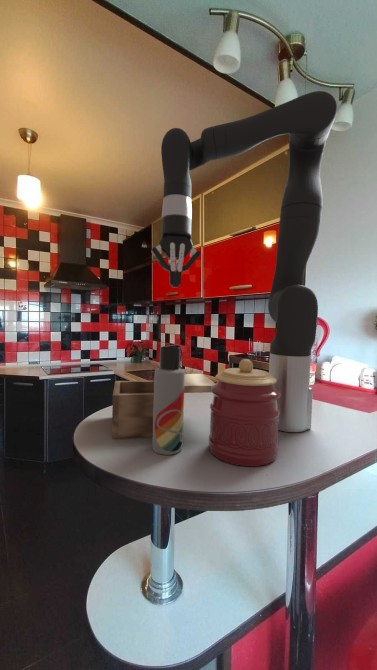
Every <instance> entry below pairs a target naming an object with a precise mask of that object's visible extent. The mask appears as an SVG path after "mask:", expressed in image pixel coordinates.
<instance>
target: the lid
mask: <svg viewBox="0 0 377 670" xmlns="http://www.w3.org/2000/svg"><path fill="white" fill-rule="evenodd" d="M158 368H160V362H156V369H158ZM215 384H216V383H215V382H214V381H213V380H211V379H210V378H208V377H207V376H206V375H205V374H203V373H185V381H184V394H192V393H194V394H195V393H197V394H198V393H200V394H202V393H206V394H207V393H212V392H211V387H212V386H213V385H215Z"/></svg>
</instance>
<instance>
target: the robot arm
mask: <svg viewBox="0 0 377 670" xmlns="http://www.w3.org/2000/svg"><path fill="white" fill-rule="evenodd" d="M337 113H338V104H337V101H336V98H335V97H334V96H333V95H332V94H331V93H329V92H327V91H324V90H322V91H321V90H316V91H311V92H309V93H308V92H307V93H306V94H302V95H299V96H297V97H295V98H293V99H291V100H288V101H286V102H284V103H281V104H278V105H276V106H274V107H272V108H269V109H267V110H264V111H261V112H259V113H256V114H253V115H252V116H248V117H244V118H243V119H239V120H234V121H230V122H225V123H222V124H215V125H214V126H208V127H206V128H204V129H202V132H201V133H200V138H198V139H195V140H193V141H191V139H190V137H189V135H188V134H187V132H186V131H184V129H182V128H178V127H173V128H171V129H169V130H168V131H167V132H166V133H165V134H164V136H163V138H162V140H161V147H160V148H161V150H160V151H161V153H160V154H161V155H160V156H161V162H162V163H161V164H162V172H163V173H162V175H163V199H162V200H163V201H162V210H161V238H160V240H159V243H158V245H157V246H154V247H152V249H151V254H152V256H153V257H154V258H155V260H156V261H157V263H158V264H159V266H160V267H161V268H162V269H163V271H164V270H165V271H167V272H168V273H169V274H168V275H169V276H168V277H169V278H168V279H169V281H168V282H169V283H168V284H169V286H171V288H176V289H177V288H179V286H181V284H182V273H183V272H187V271H188V270H189V269H190V268H191V266H192V265H193V264H194V263H195V262H196V260H197V259H198V258H199V257H200V256H201V251H200V250H197V249H196V248H195V247H194V244H193V242H192V241H193V240H192V229H193V228H192V225H193V224H192V221H193V219H192V218H193V207H192V190H193V189H192V179H191V176H190V172H191V171H193V170H195V169H197V168H199V167H201V166H204V165H206V164H207V163H209V162H212V161H216V160H223V159H228V158H231V157H236V156H239V155H241V154H243V153H245V152H248V151H250V150H251V149H253V148H255V147H256V146H258V145H260V144H262V143H264V142H265V141H268V140H271V139H273V138H275V137H278V136H283V135H288V153H289V154H288V173H287V178H286V183H285V186H284V190H283V195H282V201H281V205H280V212H279V213H280V215H279V222H278V223H279V224H278V236H277V237H278V238H277V248H276V258H275V259H276V261H275V268H274V269H275V270H274V276H273V279H272V283H271V289H270V293H269V298H268V303H267V310H268V314H269V316H270V319H272V320H273V322H275V323H276V328H275V329H276V330H275V336H274V338H273V339H272V340H271V342H270V346H269V361H268V362H269V367H268V373H269V374H270V375H271V376H272V377H274V378H275V379H276V380H277V382H276V383H275V384H274V386H275V388H276V389H278V390H279V391H280V392H281V396H280V397H279V398H278V408H279V410H280V414H279V425H278V431H282V432H289V433H301V432H305V431H306V430H311V429H312V414H313V397H314V395H313V394H314V389H313V388H312V387H310V381H311V380H310V379H311V377H310V376H311V358H312V357H311V356H312V348H313V347H314V344H315V341H316V336H317V326H318V314H319V305H318V299H317V296H316V294H315V293H314V291H313V290H312V289H311V288H310V287H308V286H306V285H304V276H305V270H306V267H307V263H308V261H309V259H310V257H311V254H312V251H313V250H314V247H315V245H316V241H317V239H318V236H319V234H320V229H321V224H322V214H323V205H324V203H323V202H324V201H323V199H324V197H323V190H322V189H323V188H322V182H321V167H322V166H321V165H322V161H323V155H324V149H325V147H326V142H327V140H328V137H329V135H330V132H331V129H332V127H333V124H334V122H335V120H336V117H337ZM162 252H163V253H164V255H165V256H166V258H168V261H166V260H165V258H164V257H163V255H162V254H163V253H162ZM188 254H189V257H190V258H189V260H188V261H187V262H186V263H185V264H183V263H184V259H185V258H186V257H187V256H188Z"/></svg>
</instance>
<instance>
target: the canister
mask: <svg viewBox="0 0 377 670" xmlns="http://www.w3.org/2000/svg"><path fill="white" fill-rule="evenodd" d="M214 378H215V380H217V382H216V383H215V385H213V386H212V387H211V392H210V393H212V402H211V403H210V404H209V408H210V421H209V422H210V423H209V435H208V445H209V451H210V452H211V454H212V455H213V456H214V457H215V458H217V459H219V460H221V461H223V462H225V463H228V464H231V465H235V466H236V465H237V466H242V467H259V466H265V465H266V466H267V465H268V464H271V463H272V462H274V461H275V460H276V458H277V455H278V452H279V445H280V443H279V441H278V440H279V430H278V425H279V414H280V410H279V408H278V398H279V397H280V396H281V392H280V391H279V390H278V389H276V388H275V386H274V384H275V383H276V382H277V380H276V379H275V378H274V377H272V376H271V375H270V374H269V371H266V370H261V369H257V368H254V362H252V360H250V359H249V358H244V359H241V360H240V361H239V364H238V367H231V368H225V369H223V370H222V371H220V373H219V372H218V373H217V374H216V375H215V377H214Z"/></svg>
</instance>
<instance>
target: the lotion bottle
mask: <svg viewBox="0 0 377 670" xmlns="http://www.w3.org/2000/svg"><path fill="white" fill-rule="evenodd" d="M159 363H160V368H158V369H157V368H156V369H154V375H153V376H154V378H153V381H154V408H153V437H152V449H153V451H154V452H155V453H157V454H159V455H168V456H169V455H175V454H178V453H180V452H181V451H182V450H183V442H184V441H183V440H184V439H183V437H184V407H185V406H184V405H185V393H184V381H185V374H186V373H185V370H184V369H182V368H181V347H180V345H179V344H169V345H168V344H167V345H164V346H160V347H159Z"/></svg>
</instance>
